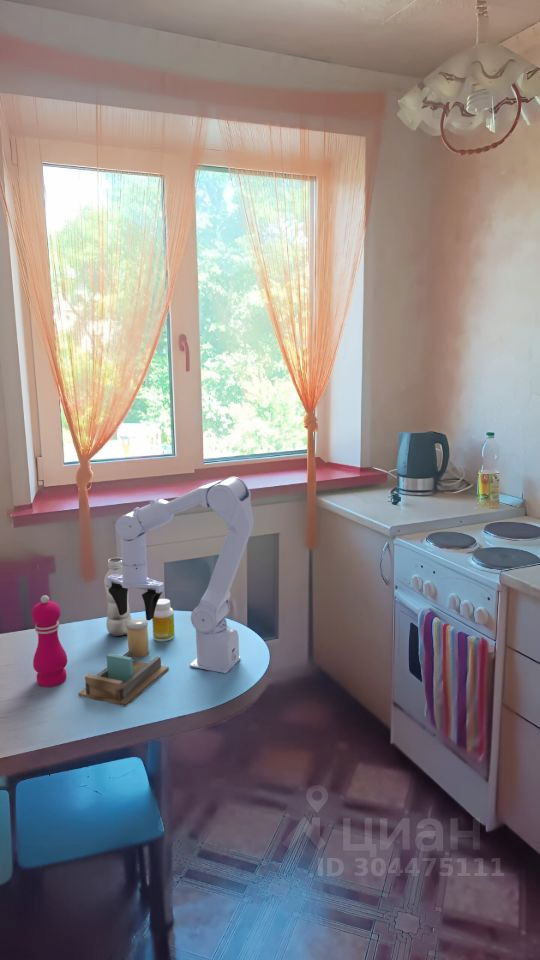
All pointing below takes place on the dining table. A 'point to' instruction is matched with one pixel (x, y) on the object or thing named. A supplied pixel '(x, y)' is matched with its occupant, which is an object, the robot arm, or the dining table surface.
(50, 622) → the pepper mill
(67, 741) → the dining table surface
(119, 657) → the pusher
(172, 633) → the supplement bottle
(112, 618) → the plastic bottle
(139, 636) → the jar
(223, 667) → the robot arm
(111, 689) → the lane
